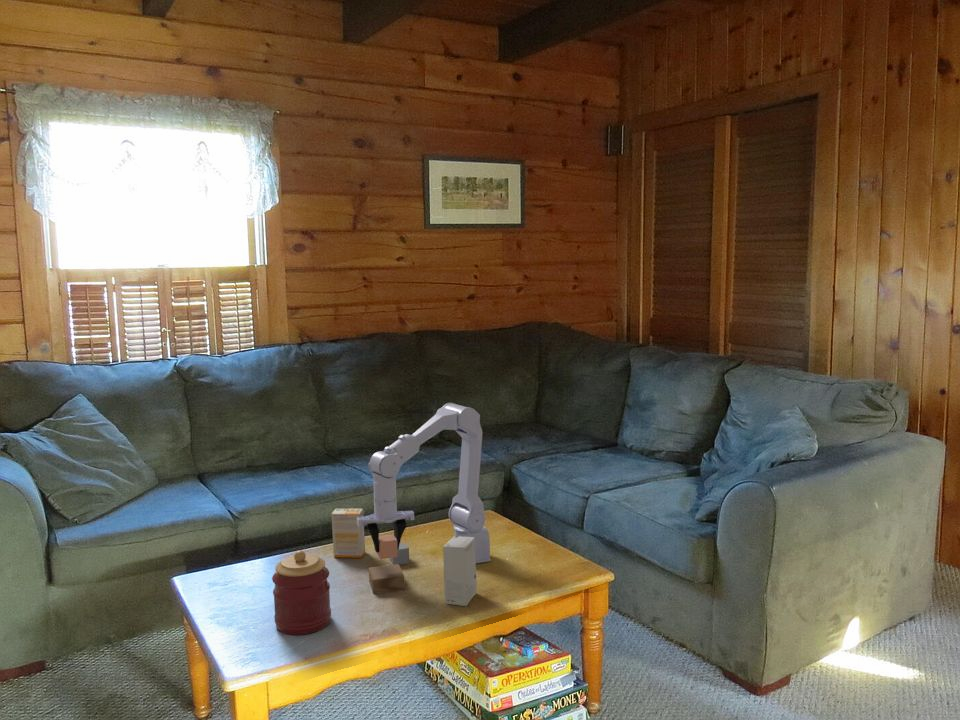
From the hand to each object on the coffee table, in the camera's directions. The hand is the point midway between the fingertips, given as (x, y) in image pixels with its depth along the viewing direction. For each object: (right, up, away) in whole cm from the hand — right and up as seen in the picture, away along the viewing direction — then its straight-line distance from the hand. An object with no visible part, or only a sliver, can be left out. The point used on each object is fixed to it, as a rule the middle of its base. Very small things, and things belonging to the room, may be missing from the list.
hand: (386, 549), depth 208 cm
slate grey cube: (+2, -7, +16) cm, 18 cm away
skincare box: (+19, -11, -7) cm, 23 cm away
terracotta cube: (0, -1, 0) cm, 1 cm away
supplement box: (-13, -7, +22) cm, 26 cm away
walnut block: (0, -10, +1) cm, 10 cm away
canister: (-17, -13, -19) cm, 29 cm away
